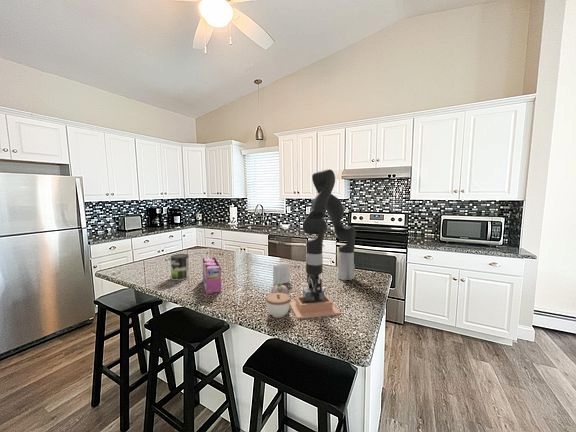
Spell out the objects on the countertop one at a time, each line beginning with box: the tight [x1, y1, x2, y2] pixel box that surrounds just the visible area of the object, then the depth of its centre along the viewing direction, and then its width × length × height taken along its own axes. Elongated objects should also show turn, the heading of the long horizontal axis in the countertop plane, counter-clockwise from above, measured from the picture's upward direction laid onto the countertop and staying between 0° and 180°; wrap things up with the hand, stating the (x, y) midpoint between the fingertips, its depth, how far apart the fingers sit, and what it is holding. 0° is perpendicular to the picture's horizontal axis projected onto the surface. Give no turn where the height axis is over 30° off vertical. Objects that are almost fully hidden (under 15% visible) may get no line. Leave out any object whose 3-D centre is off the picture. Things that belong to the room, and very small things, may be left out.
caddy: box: [289, 293, 342, 320], centre depth 119 cm, size 16×20×4 cm
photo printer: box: [272, 262, 291, 286], centre depth 151 cm, size 10×4×12 cm, turn 123°
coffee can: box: [170, 253, 190, 281], centre depth 160 cm, size 10×10×14 cm
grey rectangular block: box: [302, 288, 325, 304], centre depth 118 cm, size 9×4×8 cm, turn 102°
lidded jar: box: [265, 293, 291, 319], centre depth 113 cm, size 11×11×9 cm
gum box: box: [202, 257, 222, 294], centre depth 147 cm, size 24×8×14 cm, turn 23°
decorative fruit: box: [270, 283, 290, 296], centre depth 124 cm, size 9×8×10 cm
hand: (313, 296), depth 118 cm, fingers open, 8 cm apart
